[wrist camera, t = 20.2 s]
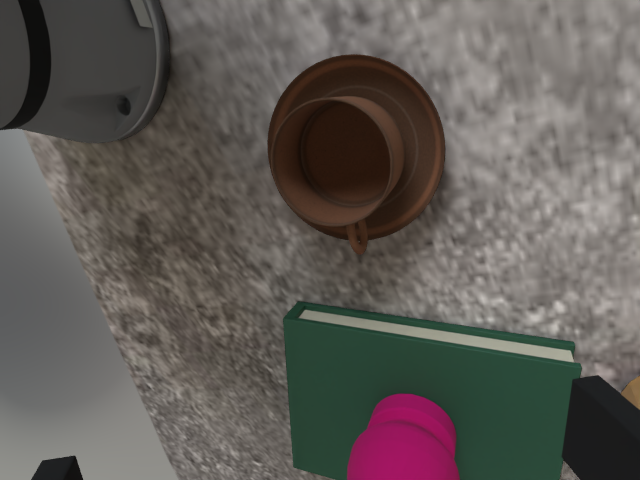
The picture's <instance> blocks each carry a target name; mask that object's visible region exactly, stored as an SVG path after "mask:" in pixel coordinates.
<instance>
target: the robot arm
mask: <svg viewBox="0 0 640 480" xmlns="http://www.w3.org/2000/svg"><path fill="white" fill-rule="evenodd" d="M169 61H170V55H169V40H168V33H167V27H166V23H165V19H164V15H163V12H162V9H161V6H160V3H159V0H0V130H6V129H17V128H18V129H22V130H27V131H32V132H36V133H41V134H45V135H50V136H55V137H59V138H64V139H68V140H73V141H78V142H86V143H104V142H110V141H116V140H121V139H125V138H128V137H130V136H132V135H134V134H136V133H137V132H139V131H140V130H141V129H142V128H143V127H145V126H146V125H147V124H148V122H149V121H150V120H151V119H152V117H153V116H154V115H155V113H156V111H157V109H158V108H159V106H160V103H161V101H162V99H163V96H164V93H165V89H166V85H167V80H168V74H169ZM562 458H563V459H564V461H565V462H566V463H567V464H568V465H569V467H570V468H571V469H572V470H573V471H574V473H575V474H576V475H577V476H578V477H579V479H580V480H640V410H639V409H638V408H637V407H636V406H635V405H633V404H632V403H631V402H630V401H629V400H627V399H626V398H625V397H624V396H622V395H621V394H620V393H619V392H618V391H616V390H615V389H614V388H613V387H612V386H610V385H609V384H608V383H607V382H606V381H604V380H603V379H602V378H601V377H600V376H598V375H597V376H590V377H584V378H577V379H573V380H572V387H571V394H570V401H569V408H568V415H567V422H566V429H565V436H564V443H563V450H562ZM31 480H83V478H82V475H81V472H80V468H79V465H78V463H77V459H76V457H75V456H69V457H63V458H56V459H50V460H43V461H42V462H41V464H40V466H39V467H38V469H37V471H36V473H35V474H34V476H33V477H32V479H31Z"/></svg>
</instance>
